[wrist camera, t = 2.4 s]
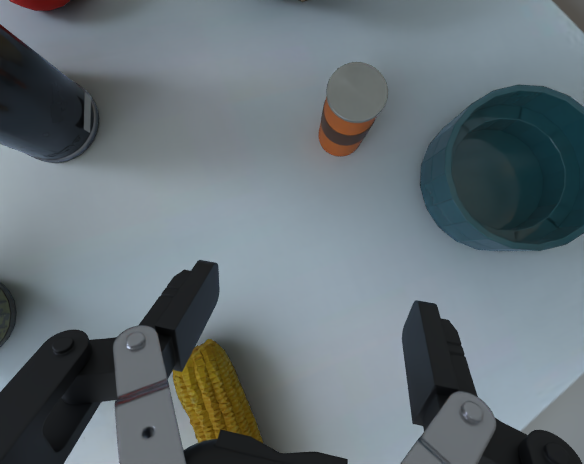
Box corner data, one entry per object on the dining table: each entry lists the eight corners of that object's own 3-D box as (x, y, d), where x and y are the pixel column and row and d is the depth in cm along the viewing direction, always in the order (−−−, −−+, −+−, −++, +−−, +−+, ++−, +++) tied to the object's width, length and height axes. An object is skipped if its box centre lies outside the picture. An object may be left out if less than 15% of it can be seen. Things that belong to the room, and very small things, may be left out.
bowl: (391, 160, 37) (413, 139, 30) (505, 89, 37) (550, 55, 31) (468, 277, 36) (507, 282, 29) (583, 203, 36) (647, 192, 30)
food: (176, 349, 35) (153, 368, 29) (225, 327, 36) (211, 342, 30) (254, 540, 34) (246, 600, 28) (304, 517, 34) (307, 572, 28)
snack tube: (309, 128, 37) (314, 82, 27) (346, 105, 37) (366, 50, 27) (333, 165, 37) (347, 132, 27) (371, 142, 37) (399, 101, 27)
